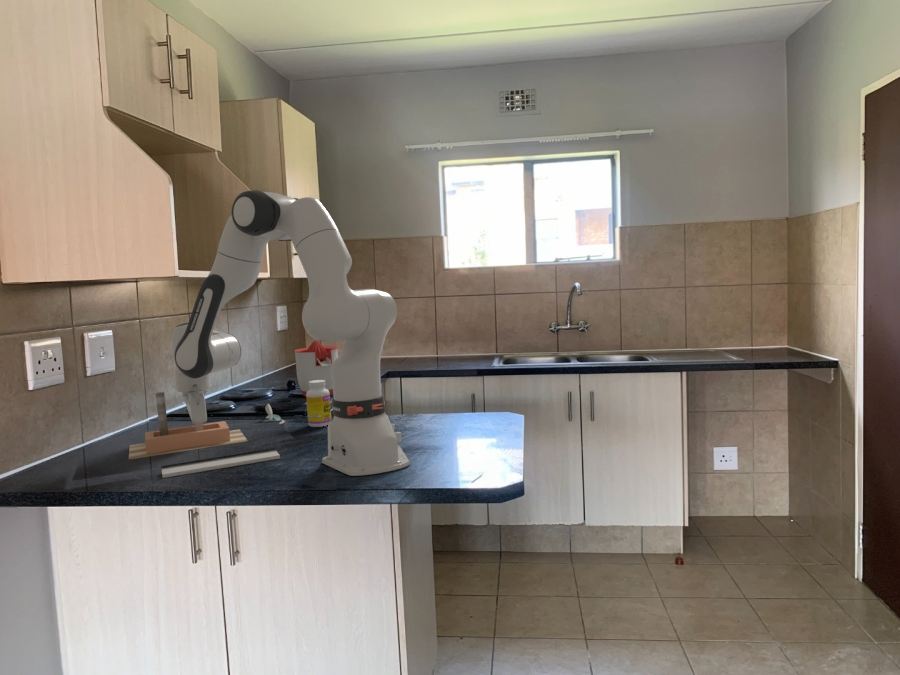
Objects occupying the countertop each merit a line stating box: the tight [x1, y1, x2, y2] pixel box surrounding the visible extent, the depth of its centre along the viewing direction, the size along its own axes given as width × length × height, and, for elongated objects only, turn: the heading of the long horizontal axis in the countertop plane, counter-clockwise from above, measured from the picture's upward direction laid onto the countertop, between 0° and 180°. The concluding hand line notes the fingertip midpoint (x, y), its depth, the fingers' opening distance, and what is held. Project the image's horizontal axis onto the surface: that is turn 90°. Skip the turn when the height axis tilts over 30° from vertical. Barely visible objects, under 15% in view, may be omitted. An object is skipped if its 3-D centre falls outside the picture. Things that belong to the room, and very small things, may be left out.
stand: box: [128, 391, 248, 460], centre depth 177 cm, size 16×28×16 cm, turn 114°
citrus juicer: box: [293, 339, 339, 398], centre depth 245 cm, size 16×17×20 cm
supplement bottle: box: [305, 380, 332, 428], centre depth 196 cm, size 7×7×13 cm
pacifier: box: [262, 403, 286, 425], centre depth 202 cm, size 7×6×6 cm
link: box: [144, 420, 230, 454], centre depth 177 cm, size 10×20×4 cm, turn 114°
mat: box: [160, 447, 281, 479], centre depth 164 cm, size 14×26×1 cm, turn 114°
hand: (198, 433), depth 182 cm, fingers open, 6 cm apart
